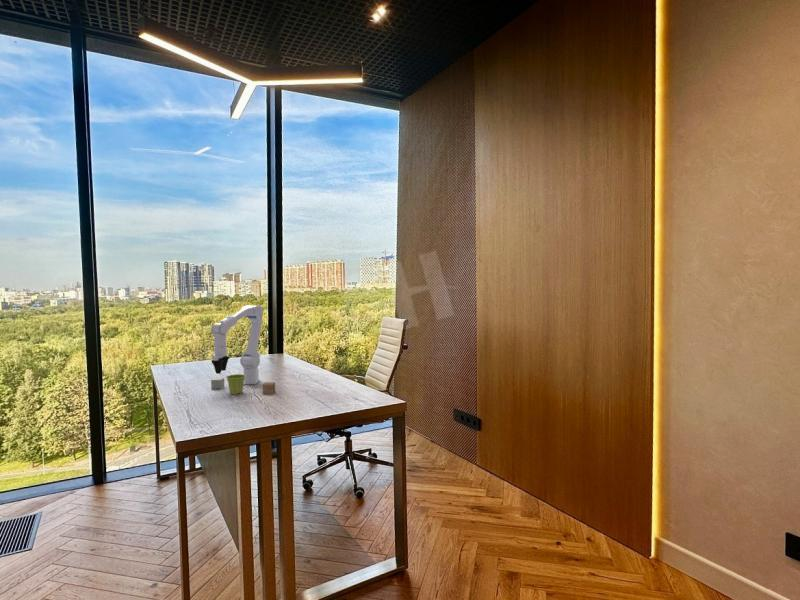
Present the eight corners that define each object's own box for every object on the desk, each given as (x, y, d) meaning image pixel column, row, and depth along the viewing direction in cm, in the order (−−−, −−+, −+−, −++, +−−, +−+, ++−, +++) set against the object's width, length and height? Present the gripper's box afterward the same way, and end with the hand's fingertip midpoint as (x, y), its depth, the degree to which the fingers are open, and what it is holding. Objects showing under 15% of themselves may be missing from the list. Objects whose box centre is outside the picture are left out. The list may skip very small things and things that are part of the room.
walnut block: (265, 391, 237) (265, 382, 237) (275, 391, 237) (275, 382, 237) (262, 394, 232) (262, 384, 232) (272, 394, 232) (272, 384, 232)
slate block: (215, 387, 249) (215, 377, 248) (224, 387, 249) (224, 377, 248) (211, 389, 244) (211, 380, 243) (220, 389, 244) (220, 379, 243)
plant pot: (248, 390, 239) (248, 374, 239) (240, 395, 230) (240, 378, 230) (231, 390, 240) (231, 374, 240) (223, 395, 231) (222, 378, 230)
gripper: (217, 344, 244) (218, 369, 245) (207, 348, 230) (208, 374, 230) (230, 343, 244) (231, 369, 245) (221, 348, 230) (222, 374, 231)
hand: (220, 371), depth 238 cm, fingers open, 7 cm apart
